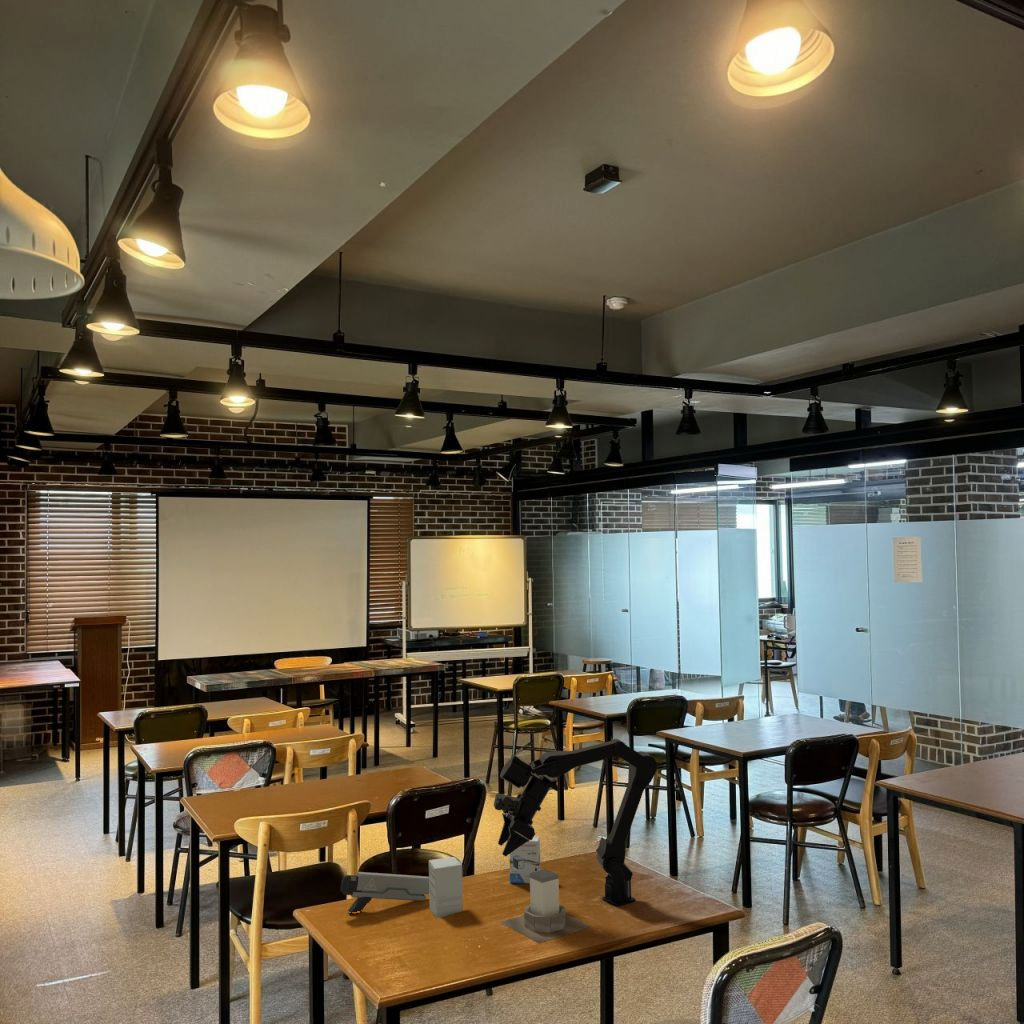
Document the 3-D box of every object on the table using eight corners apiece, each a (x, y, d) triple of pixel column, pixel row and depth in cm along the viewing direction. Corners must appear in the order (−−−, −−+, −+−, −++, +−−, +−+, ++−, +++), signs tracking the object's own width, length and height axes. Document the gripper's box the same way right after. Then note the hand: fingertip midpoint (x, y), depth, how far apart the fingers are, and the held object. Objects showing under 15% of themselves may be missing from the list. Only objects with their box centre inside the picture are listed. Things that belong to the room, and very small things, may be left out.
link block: (546, 918, 218) (545, 869, 219) (559, 924, 214) (558, 874, 215) (530, 923, 215) (529, 873, 216) (543, 930, 211) (542, 878, 212)
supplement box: (456, 905, 232) (455, 856, 233) (463, 915, 225) (462, 864, 226) (428, 909, 230) (428, 859, 231) (435, 919, 223) (434, 868, 224)
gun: (334, 910, 227) (342, 870, 229) (423, 915, 238) (430, 876, 239) (336, 914, 225) (345, 873, 226) (426, 918, 235) (434, 879, 237)
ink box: (509, 883, 248) (508, 840, 249) (511, 877, 253) (510, 835, 254) (539, 884, 247) (538, 841, 248) (541, 877, 252) (540, 835, 253)
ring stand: (550, 911, 226) (550, 893, 226) (591, 931, 213) (591, 911, 213) (499, 927, 217) (499, 907, 217) (539, 948, 204) (538, 927, 204)
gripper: (502, 773, 241) (472, 824, 238) (511, 789, 222) (479, 845, 220) (536, 794, 241) (506, 845, 239) (548, 812, 223) (516, 867, 221)
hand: (501, 849), depth 230 cm, fingers open, 9 cm apart
